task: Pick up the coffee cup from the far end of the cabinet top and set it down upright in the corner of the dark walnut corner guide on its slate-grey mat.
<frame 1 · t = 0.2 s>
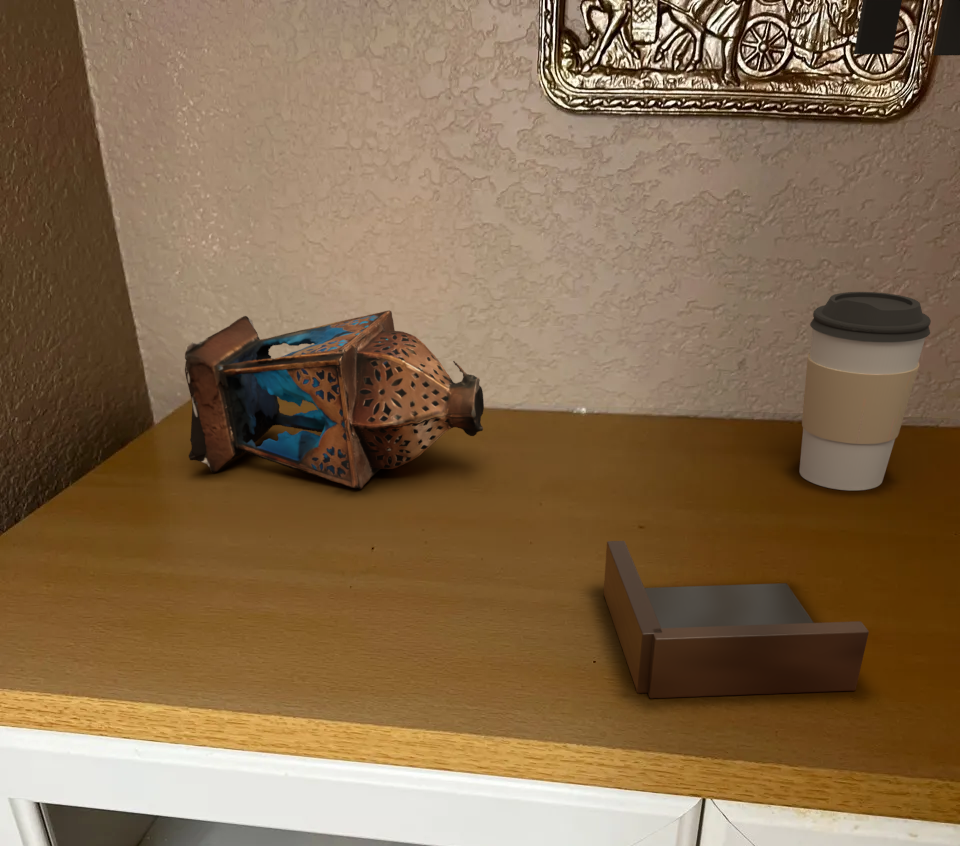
hand: (910, 55, 69), 31 cm above the cabinet, tool pointing down, fingers open, 13 cm apart
coffee cup: (840, 477, 85), on the cabinet
corner guide: (726, 633, 62), on the cabinet
lantern: (345, 468, 88), on the cabinet
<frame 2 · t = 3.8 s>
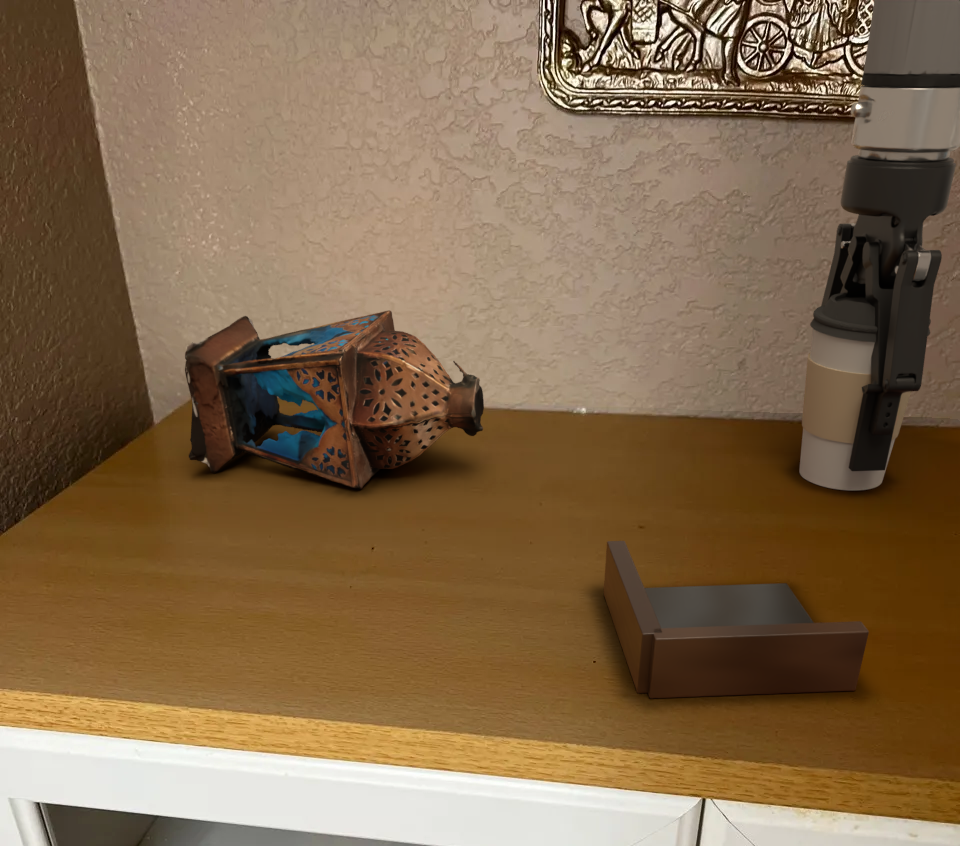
hand: (845, 448, 83), 2 cm above the cabinet, tool pointing down, fingers closed on coffee cup, 9 cm apart
coffee cup: (840, 477, 85), on the cabinet, touching gripper
everything else where it was.
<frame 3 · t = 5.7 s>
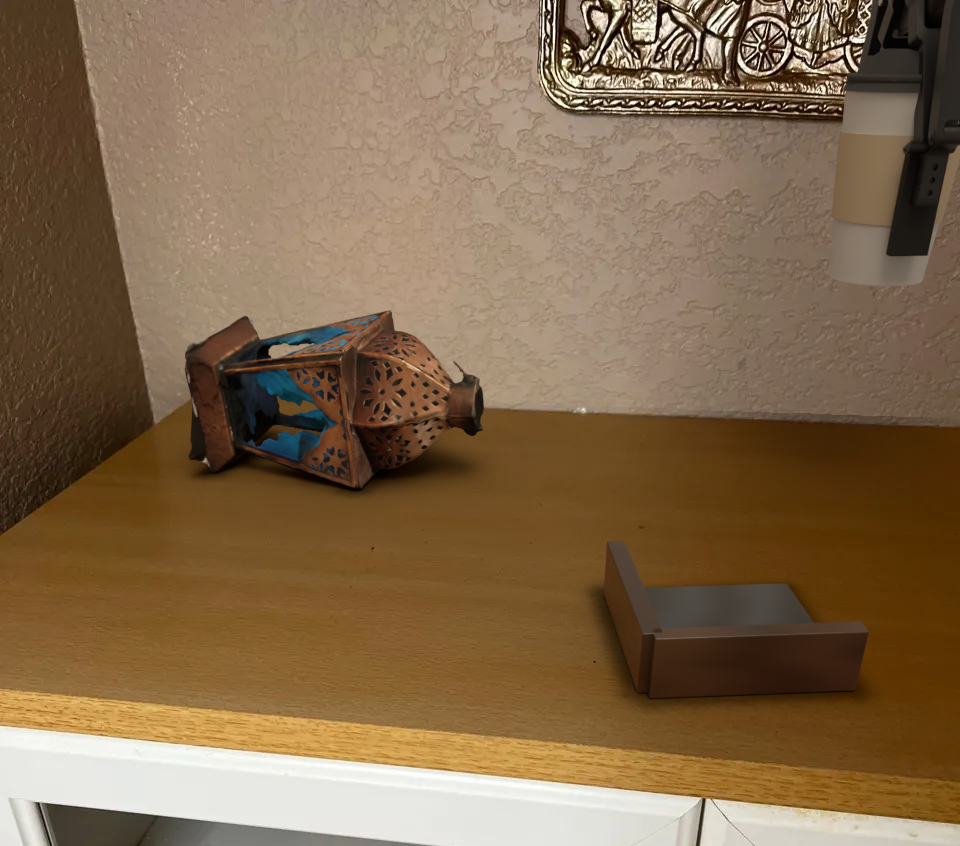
hand: (881, 243, 74), 19 cm above the cabinet, tool pointing down, fingers closed on coffee cup, 9 cm apart
coffee cup: (874, 279, 75), point 16 cm above the cabinet, touching gripper
everything else where it was.
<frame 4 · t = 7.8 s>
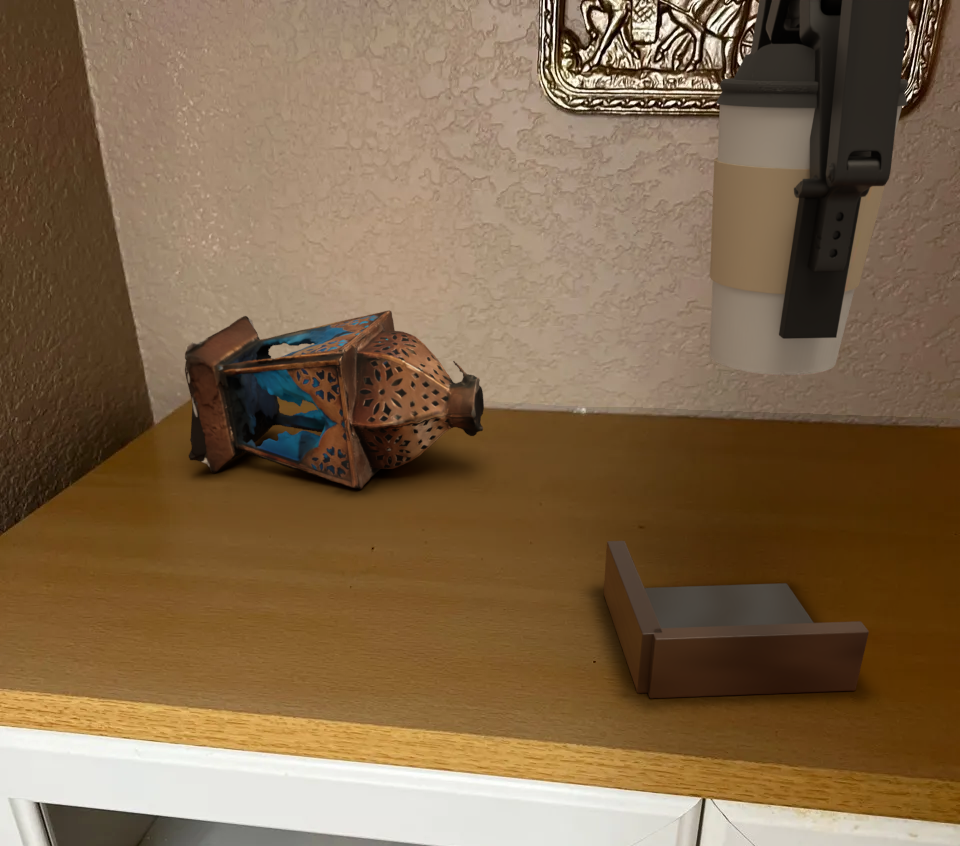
hand: (778, 314, 54), 19 cm above the cabinet, tool pointing down, fingers closed on coffee cup, 9 cm apart
coffee cup: (771, 361, 55), point 17 cm above the cabinet, touching gripper
everything else where it was.
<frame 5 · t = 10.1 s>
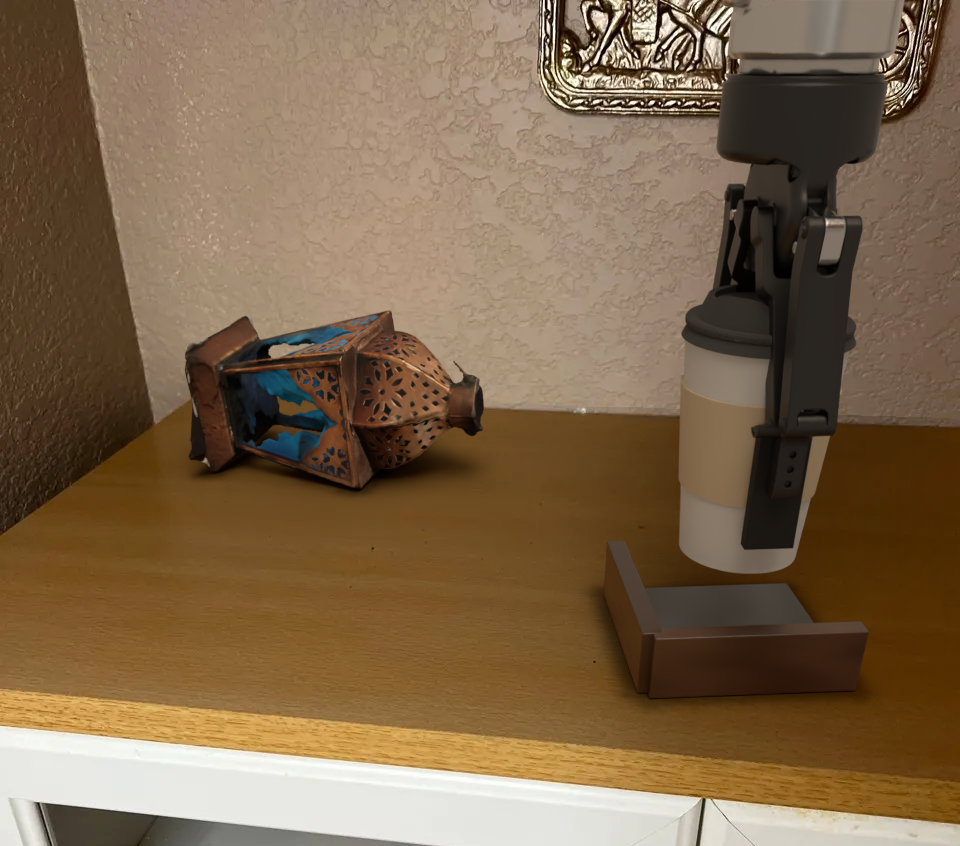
hand: (742, 511, 58), 8 cm above the cabinet, tool pointing down, fingers closed on coffee cup, 9 cm apart
coffee cup: (736, 550, 59), point 6 cm above the cabinet, touching gripper
everything else where it was.
when the fingers open (3 cm above the cabinet, at t = 11.9 s): coffee cup stays where it is, resting on corner guide.
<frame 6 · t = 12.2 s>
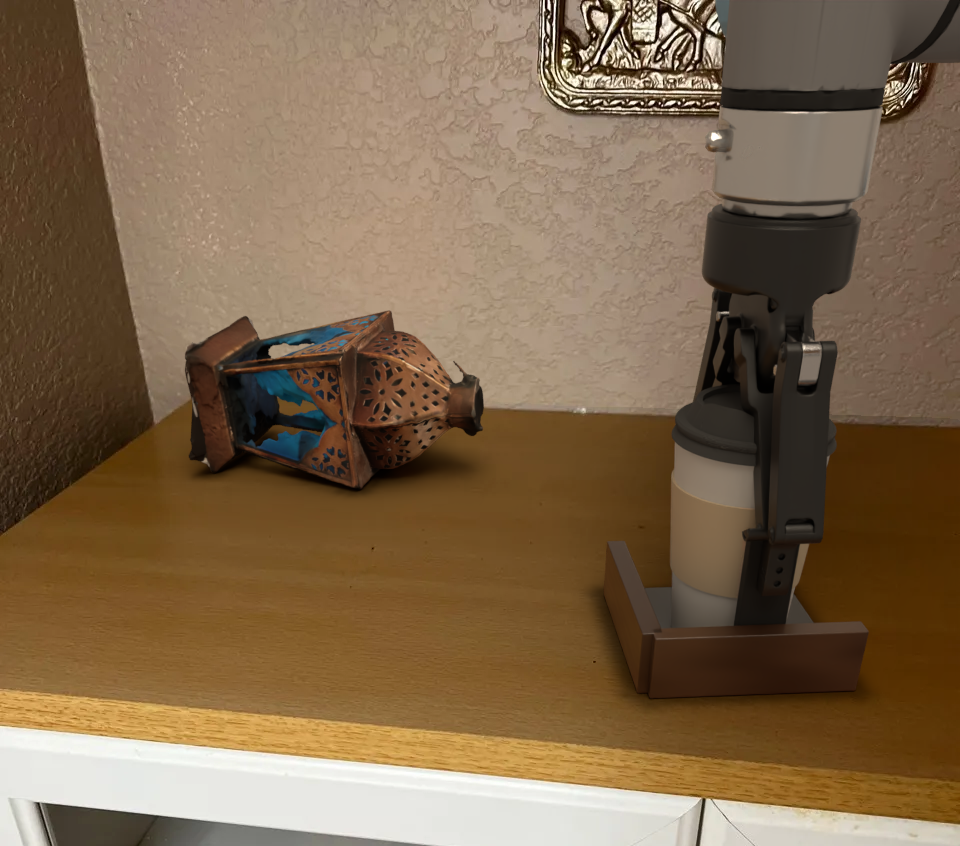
hand: (730, 587, 61), 3 cm above the cabinet, tool pointing down, fingers open, 11 cm apart
coffee cup: (725, 630, 62), resting on corner guide
everything else where it was.
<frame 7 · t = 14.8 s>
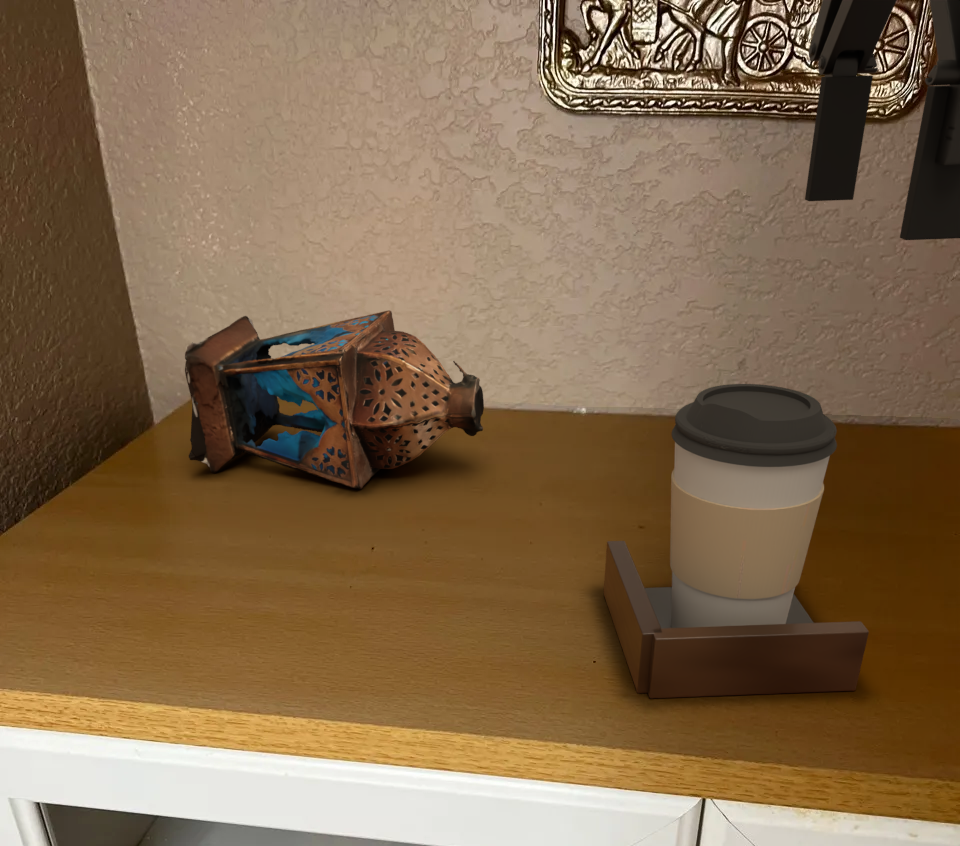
hand: (873, 217, 54), 24 cm above the cabinet, tool pointing down, fingers open, 13 cm apart
nothing on the cabinet moved.
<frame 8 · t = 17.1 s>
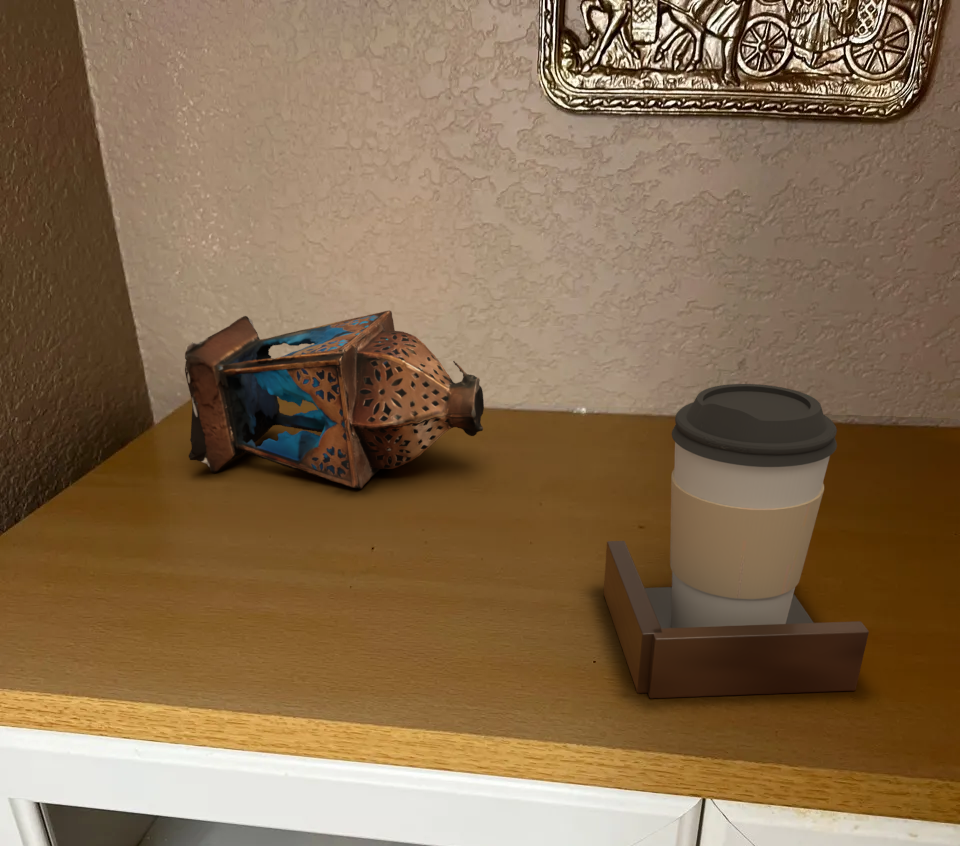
nothing on the cabinet moved.
at the end: coffee cup 0.7 cm off-centre on the corner guide, point 0.2 cm above the corner guide's base; coffee cup tilted 0°; the gripper is holding nothing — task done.
